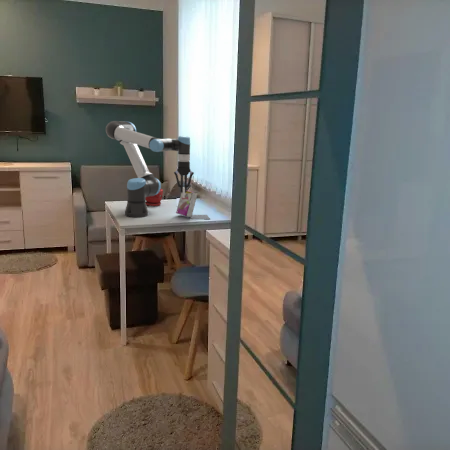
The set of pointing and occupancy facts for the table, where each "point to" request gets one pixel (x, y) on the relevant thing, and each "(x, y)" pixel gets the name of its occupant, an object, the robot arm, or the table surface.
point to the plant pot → (154, 199)
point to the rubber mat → (199, 217)
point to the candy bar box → (187, 204)
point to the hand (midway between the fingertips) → (183, 197)
